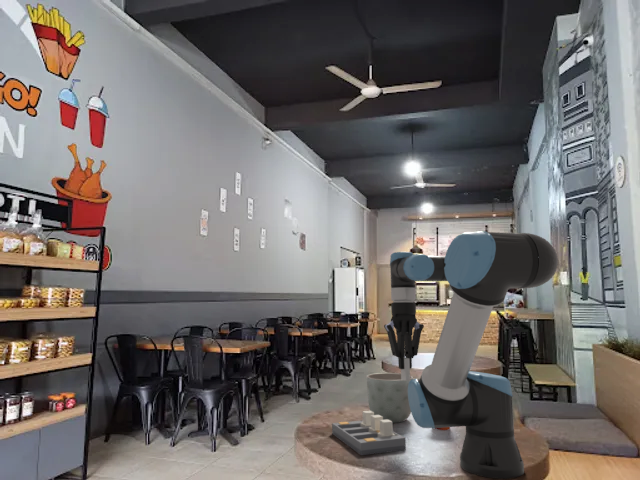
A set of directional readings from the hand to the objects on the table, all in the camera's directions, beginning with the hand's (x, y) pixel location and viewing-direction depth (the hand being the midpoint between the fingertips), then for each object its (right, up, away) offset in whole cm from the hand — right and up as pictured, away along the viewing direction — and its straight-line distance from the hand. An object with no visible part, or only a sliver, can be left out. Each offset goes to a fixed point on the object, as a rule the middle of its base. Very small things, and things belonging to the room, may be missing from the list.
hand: (405, 379), depth 136 cm
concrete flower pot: (-1, -22, +24) cm, 33 cm away
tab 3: (-7, -16, -5) cm, 18 cm away
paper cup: (+15, -21, +14) cm, 29 cm away
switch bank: (-12, -18, -1) cm, 22 cm away
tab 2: (-9, -17, +1) cm, 19 cm away
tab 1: (-11, -18, +6) cm, 22 cm away
